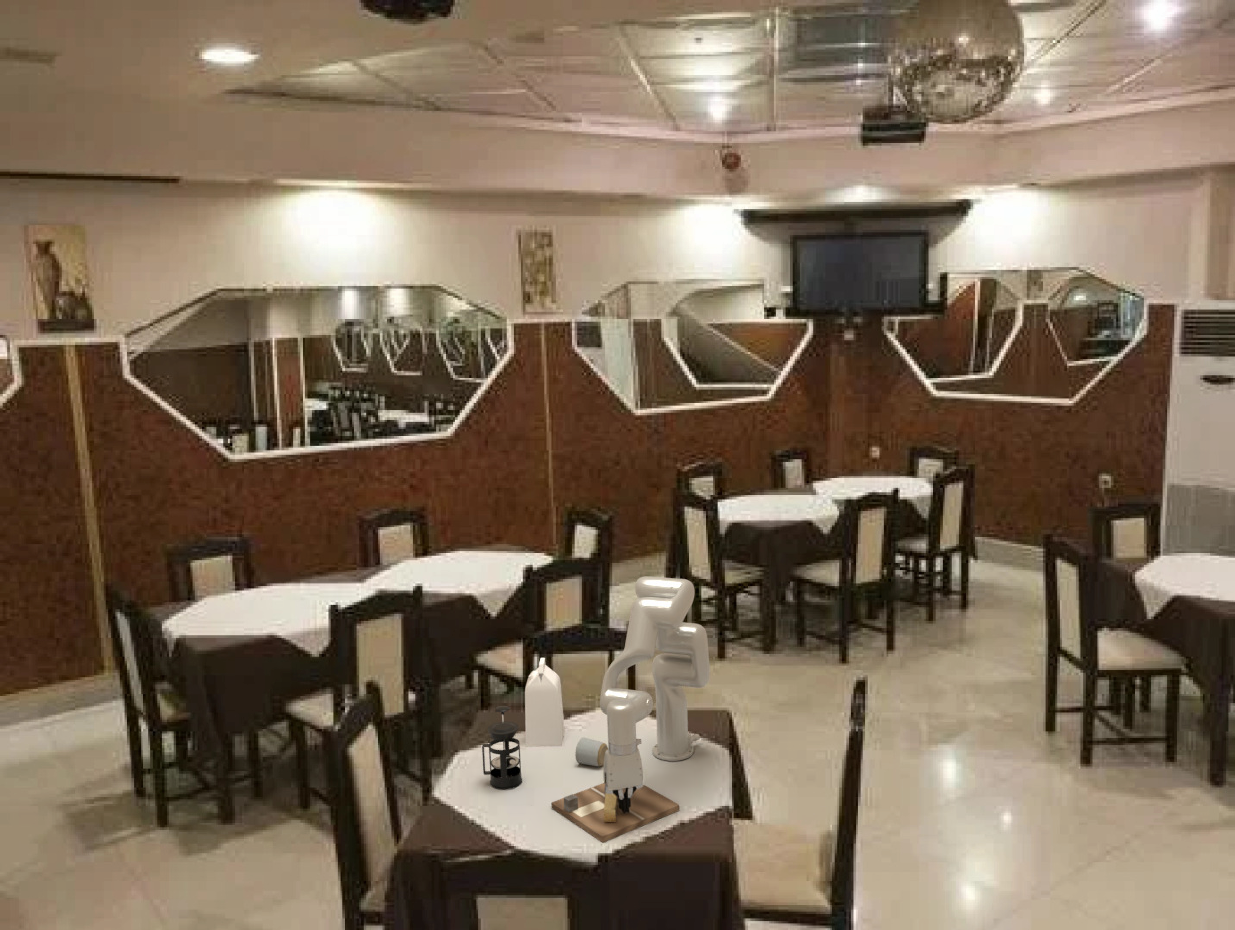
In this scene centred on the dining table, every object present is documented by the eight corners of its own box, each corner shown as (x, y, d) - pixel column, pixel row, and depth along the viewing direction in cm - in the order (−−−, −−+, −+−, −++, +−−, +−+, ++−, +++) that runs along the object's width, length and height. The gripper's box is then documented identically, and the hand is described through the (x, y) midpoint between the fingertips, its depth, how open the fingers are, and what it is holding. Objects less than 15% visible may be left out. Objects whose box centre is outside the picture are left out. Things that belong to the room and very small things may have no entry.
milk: (562, 745, 322) (558, 667, 318) (525, 746, 322) (521, 668, 318) (564, 730, 334) (561, 654, 330) (529, 731, 334) (525, 655, 330)
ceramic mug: (599, 771, 303) (599, 746, 302) (575, 766, 307) (574, 742, 306) (614, 757, 313) (613, 733, 312) (590, 753, 316) (589, 729, 315)
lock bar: (605, 796, 284) (604, 784, 283) (619, 795, 284) (619, 784, 283) (602, 822, 270) (602, 809, 269) (617, 821, 269) (617, 809, 269)
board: (626, 779, 297) (625, 763, 297) (679, 810, 278) (679, 792, 278) (551, 807, 282) (550, 790, 281) (602, 842, 263) (602, 823, 262)
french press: (525, 774, 303) (522, 700, 299) (523, 789, 294) (519, 713, 290) (486, 775, 303) (482, 702, 299) (482, 790, 294) (478, 714, 290)
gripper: (644, 736, 277) (646, 798, 280) (591, 745, 273) (594, 809, 276) (653, 747, 270) (655, 811, 273) (599, 756, 266) (602, 822, 269)
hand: (624, 810), depth 274 cm, fingers closed
